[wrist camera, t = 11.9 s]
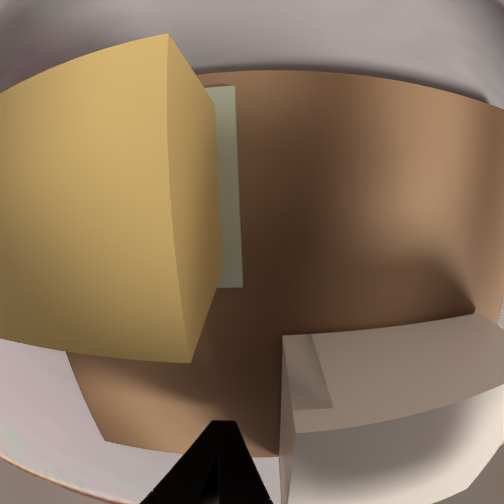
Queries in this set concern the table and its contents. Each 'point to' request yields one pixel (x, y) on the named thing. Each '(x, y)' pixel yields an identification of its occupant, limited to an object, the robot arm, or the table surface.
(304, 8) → the table surface
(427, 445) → the cover
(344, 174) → the board
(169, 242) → the block
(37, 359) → the table surface
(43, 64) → the table surface
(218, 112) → the thin mint green panel
